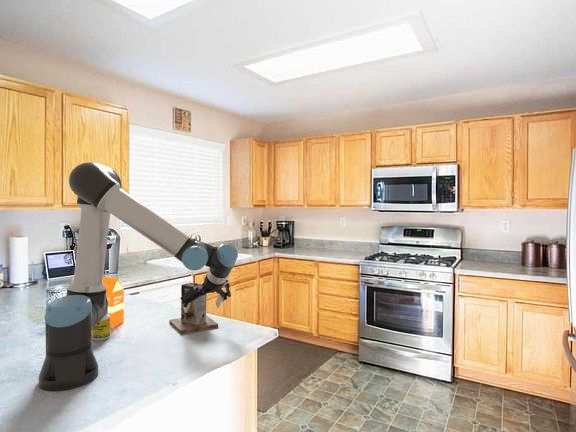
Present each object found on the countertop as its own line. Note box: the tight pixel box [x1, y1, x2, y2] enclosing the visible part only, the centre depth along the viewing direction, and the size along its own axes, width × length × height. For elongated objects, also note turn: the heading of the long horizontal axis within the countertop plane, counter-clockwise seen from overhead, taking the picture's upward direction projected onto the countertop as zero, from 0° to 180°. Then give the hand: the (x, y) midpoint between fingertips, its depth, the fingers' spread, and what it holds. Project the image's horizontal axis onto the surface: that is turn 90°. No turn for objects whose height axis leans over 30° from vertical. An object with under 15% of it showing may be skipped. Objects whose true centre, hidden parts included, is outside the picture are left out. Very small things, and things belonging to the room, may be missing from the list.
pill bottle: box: [92, 309, 111, 341], centre depth 140 cm, size 6×6×11 cm
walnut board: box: [168, 314, 219, 335], centre depth 156 cm, size 16×16×2 cm
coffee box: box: [180, 282, 207, 325], centre depth 156 cm, size 9×6×16 cm
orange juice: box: [103, 276, 125, 328], centre depth 157 cm, size 8×9×20 cm
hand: (201, 307), depth 148 cm, fingers open, 13 cm apart
